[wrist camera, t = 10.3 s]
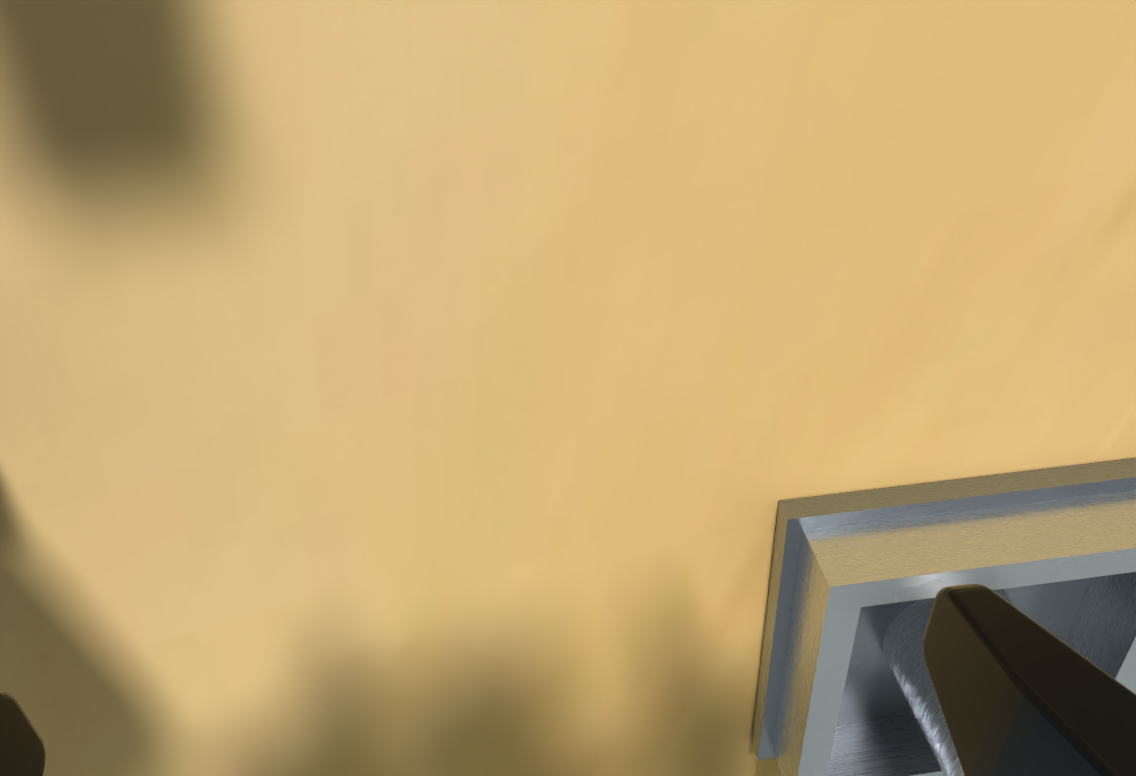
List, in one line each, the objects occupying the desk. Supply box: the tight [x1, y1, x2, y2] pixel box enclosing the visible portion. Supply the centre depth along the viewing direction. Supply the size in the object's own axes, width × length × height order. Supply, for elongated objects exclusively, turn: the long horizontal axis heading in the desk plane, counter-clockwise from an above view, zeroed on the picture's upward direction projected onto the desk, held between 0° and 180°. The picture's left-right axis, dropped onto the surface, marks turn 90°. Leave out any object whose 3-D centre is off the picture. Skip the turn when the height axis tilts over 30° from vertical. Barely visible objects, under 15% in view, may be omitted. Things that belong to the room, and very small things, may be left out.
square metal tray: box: [752, 458, 1136, 776], centre depth 29 cm, size 12×12×3 cm
